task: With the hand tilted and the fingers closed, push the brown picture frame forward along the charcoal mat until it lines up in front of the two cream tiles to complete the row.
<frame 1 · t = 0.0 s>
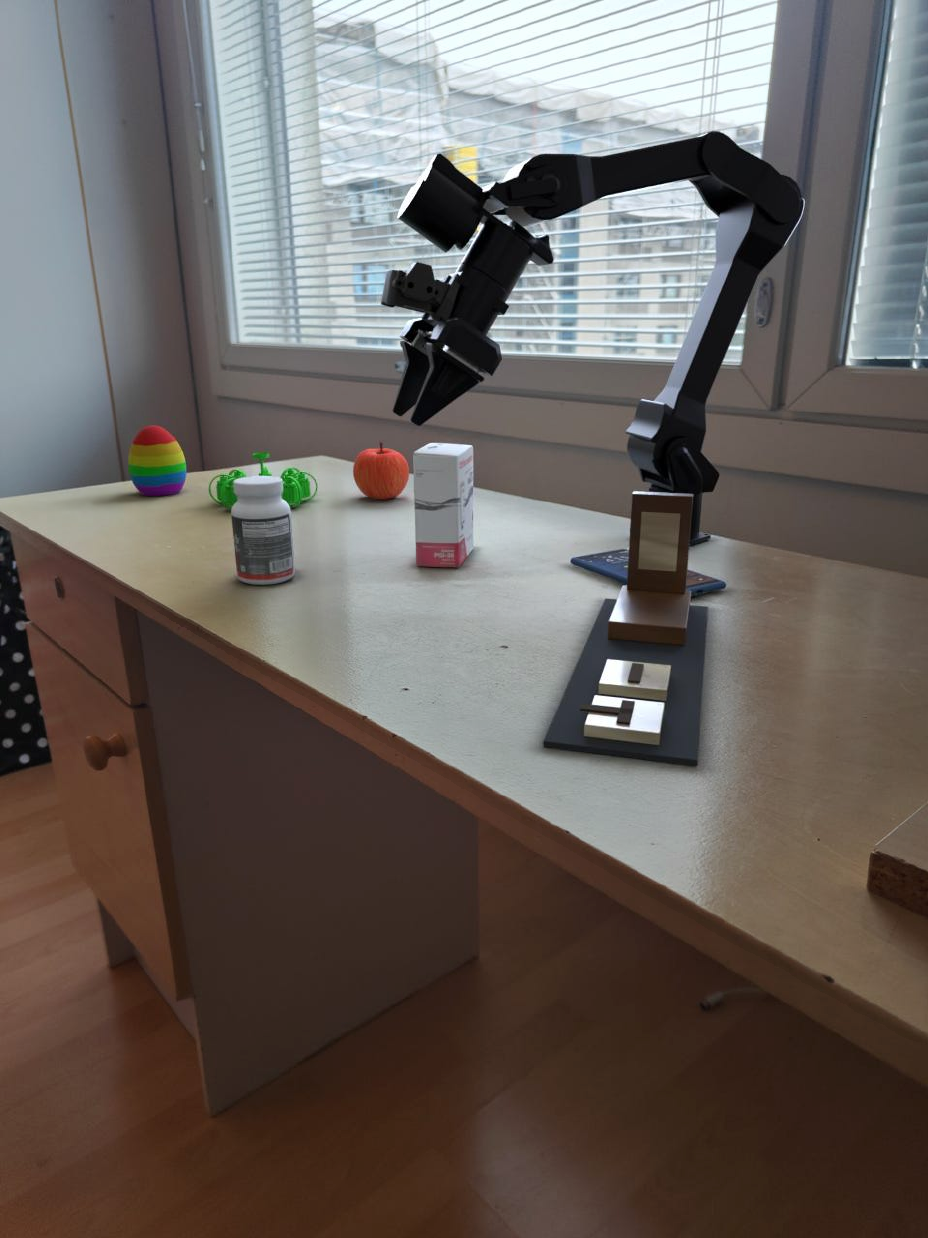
hand: (405, 418, 88), 15 cm above the table, tool tilted 35°, fingers open, 9 cm apart
decorative egg: (161, 494, 130), on the table
chandelier: (265, 504, 122), on the table
apple: (381, 498, 125), on the table
pill bottle: (266, 579, 86), on the table
brown picture frame: (650, 622, 72), resting on word mat
smartphone: (644, 578, 85), on the table
ink box: (445, 559, 93), on the table
word mat: (645, 647, 67), on the table
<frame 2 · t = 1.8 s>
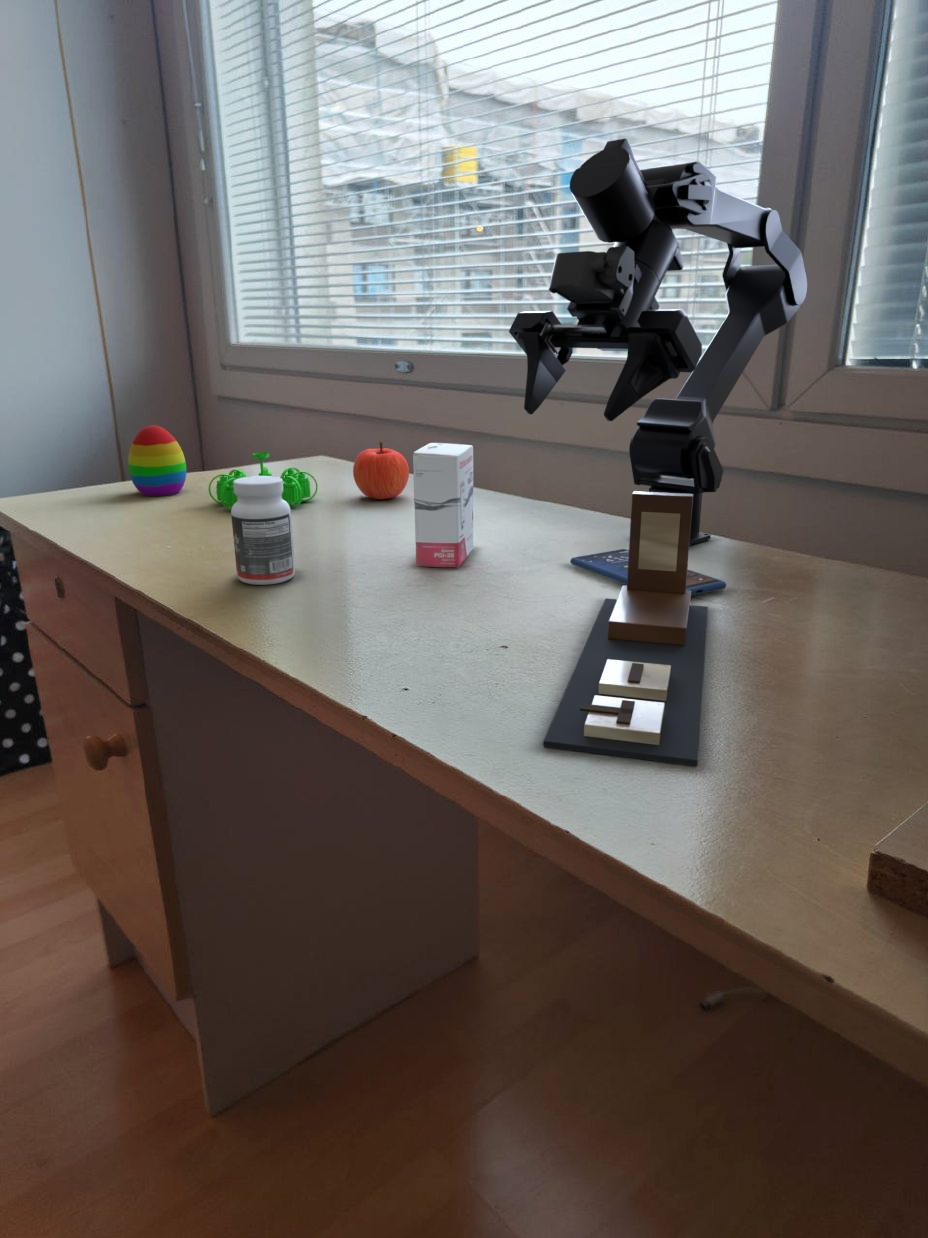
hand: (566, 414, 80), 16 cm above the table, tool tilted 40°, fingers open, 9 cm apart
nothing on the table moved.
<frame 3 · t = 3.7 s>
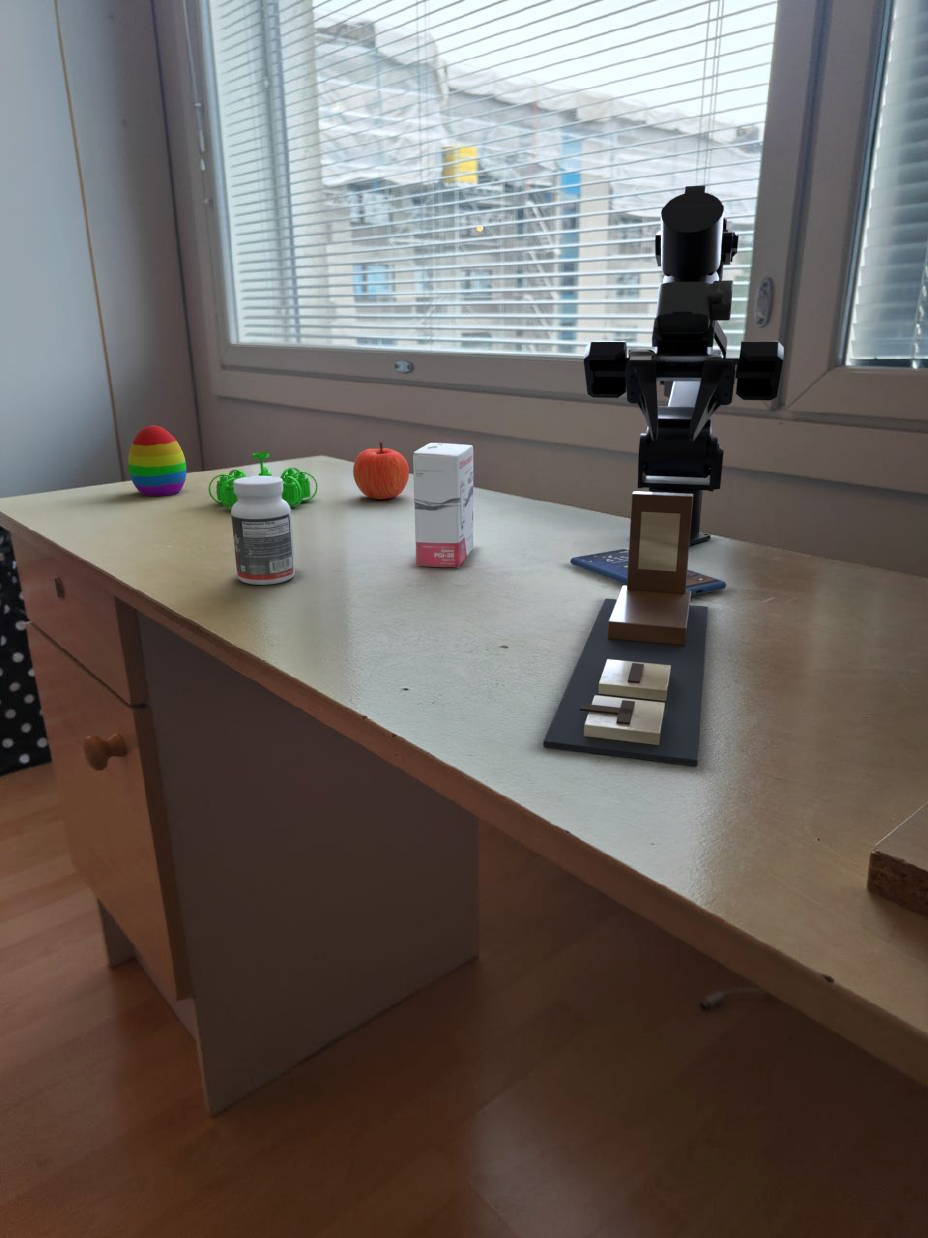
hand: (672, 438, 82), 14 cm above the table, tool tilted 45°, fingers open, 3 cm apart
nothing on the table moved.
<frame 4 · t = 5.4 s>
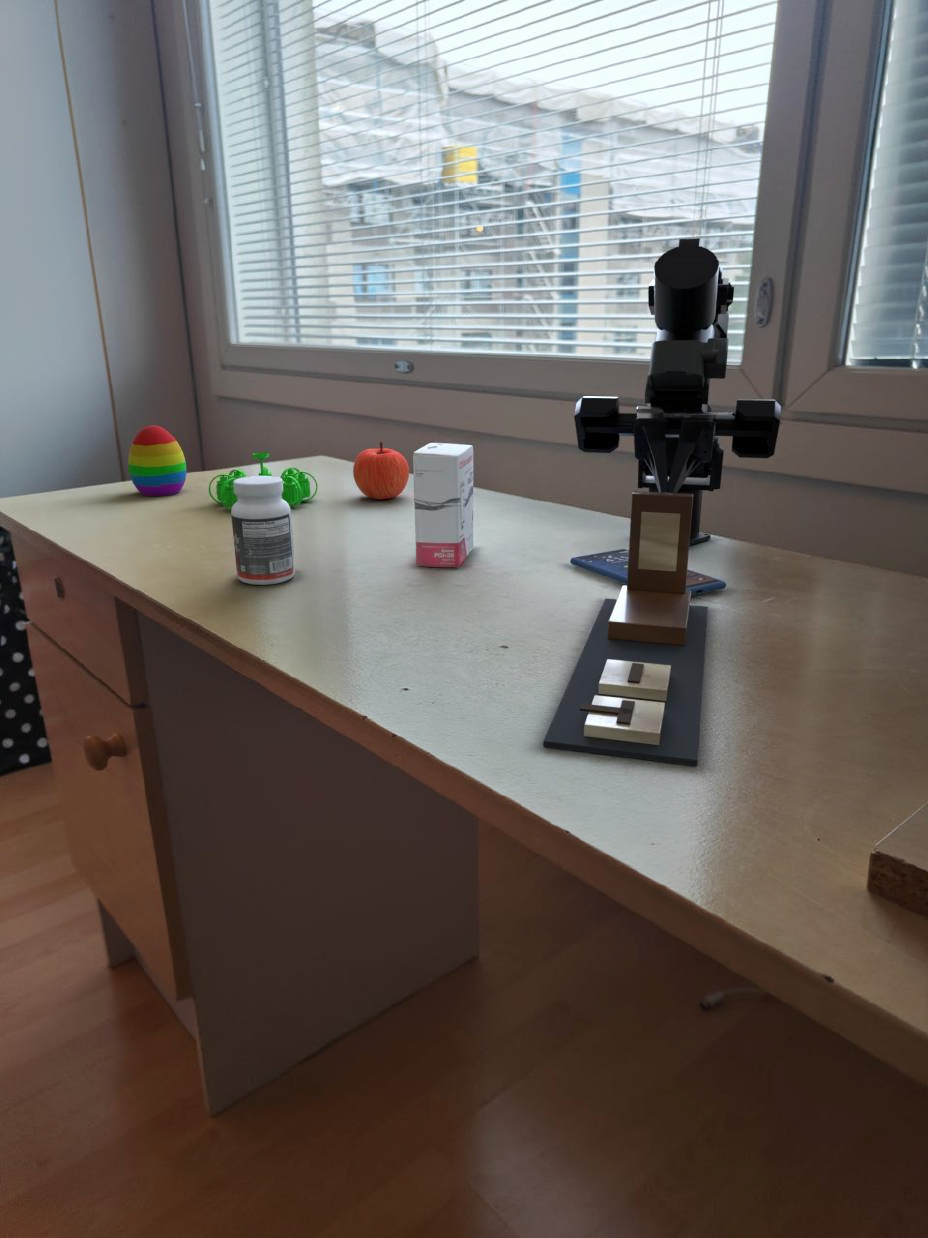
hand: (666, 499, 79), 9 cm above the table, tool tilted 45°, fingers closed
nothing on the table moved.
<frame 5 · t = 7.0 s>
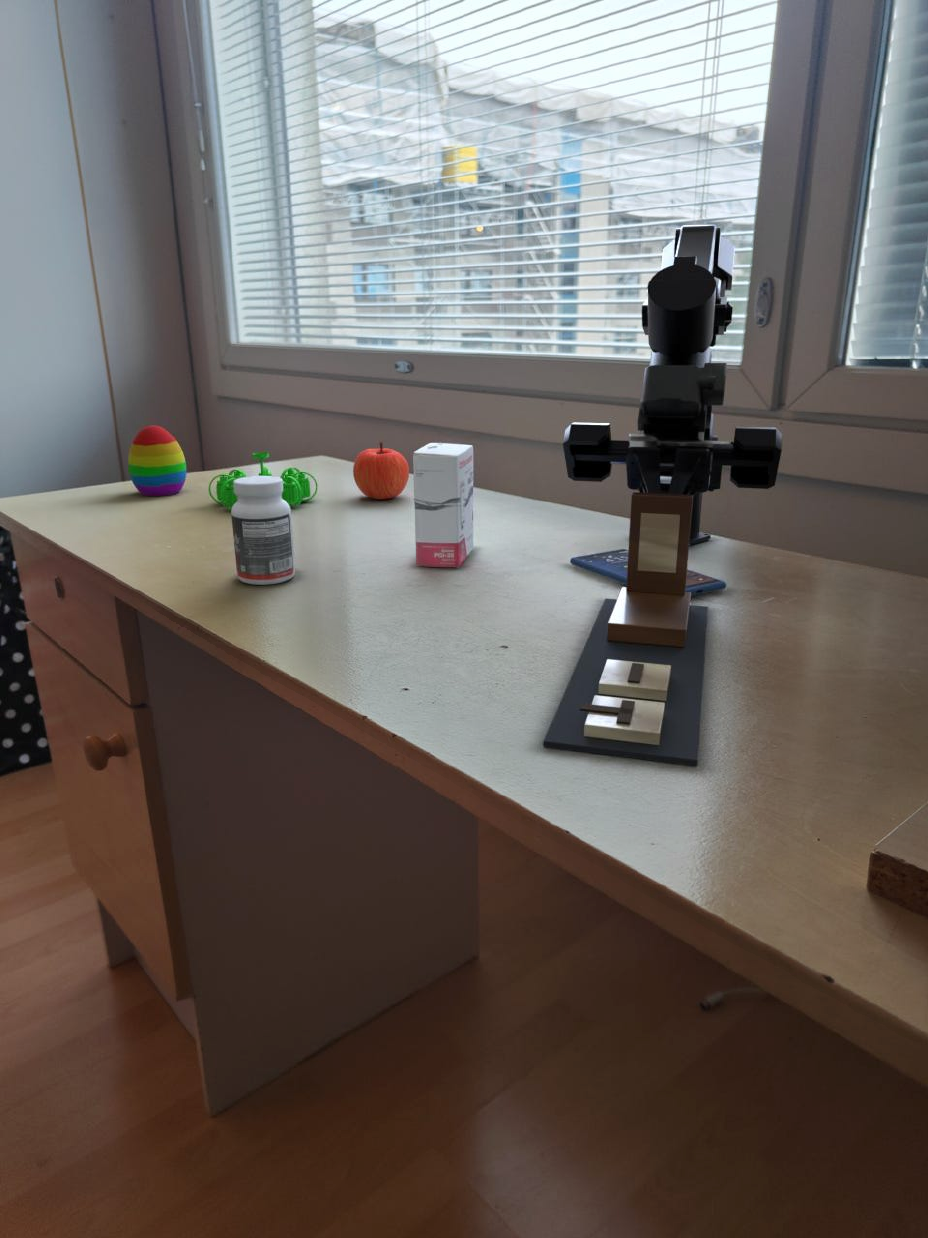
hand: (660, 534, 74), 7 cm above the table, tool tilted 45°, fingers closed
brown picture frame: (650, 623, 71), resting on word mat
everything else where it was.
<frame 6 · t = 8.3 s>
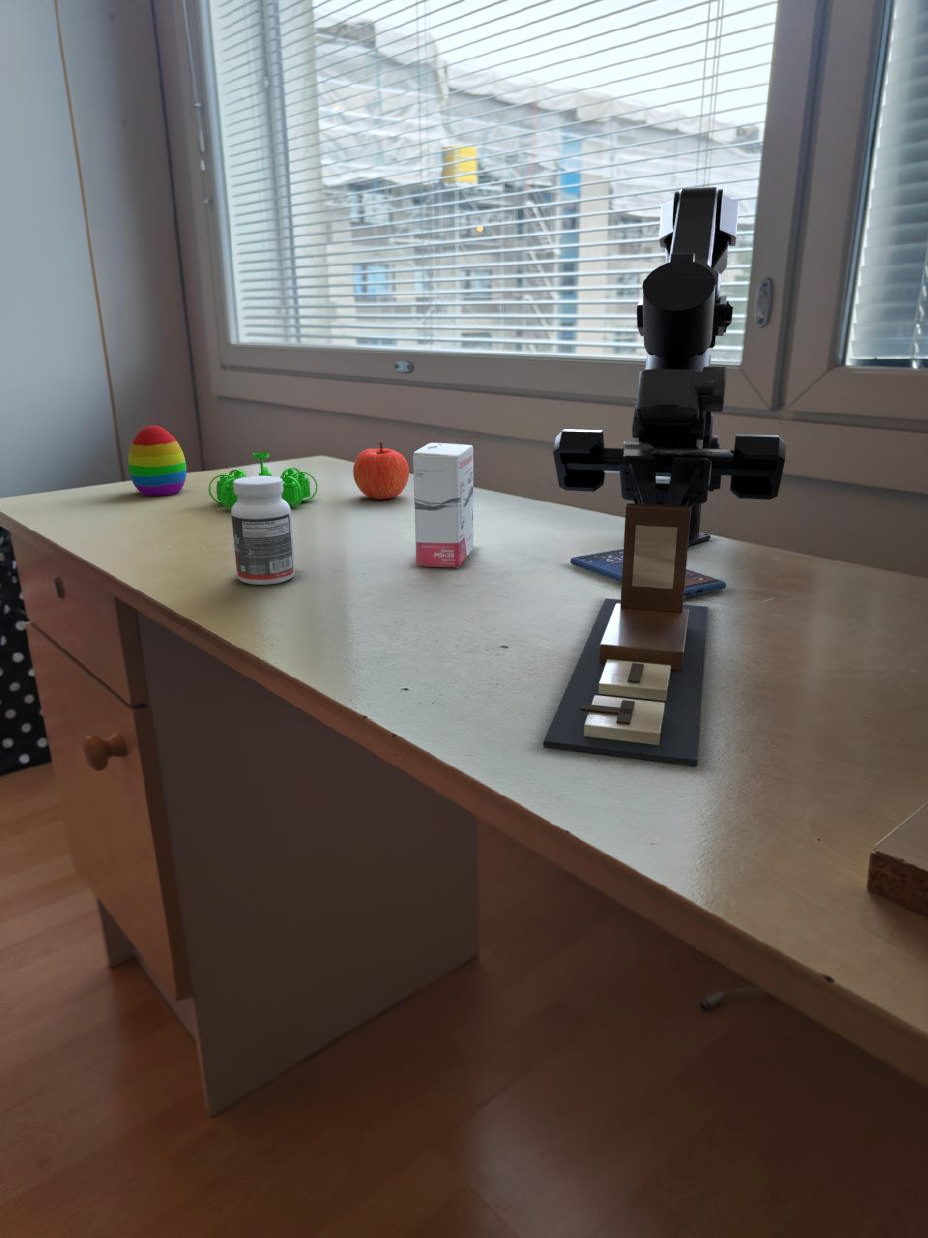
hand: (656, 548, 70), 7 cm above the table, tool tilted 45°, fingers closed
brown picture frame: (645, 643, 67), resting on word mat
everything else where it was.
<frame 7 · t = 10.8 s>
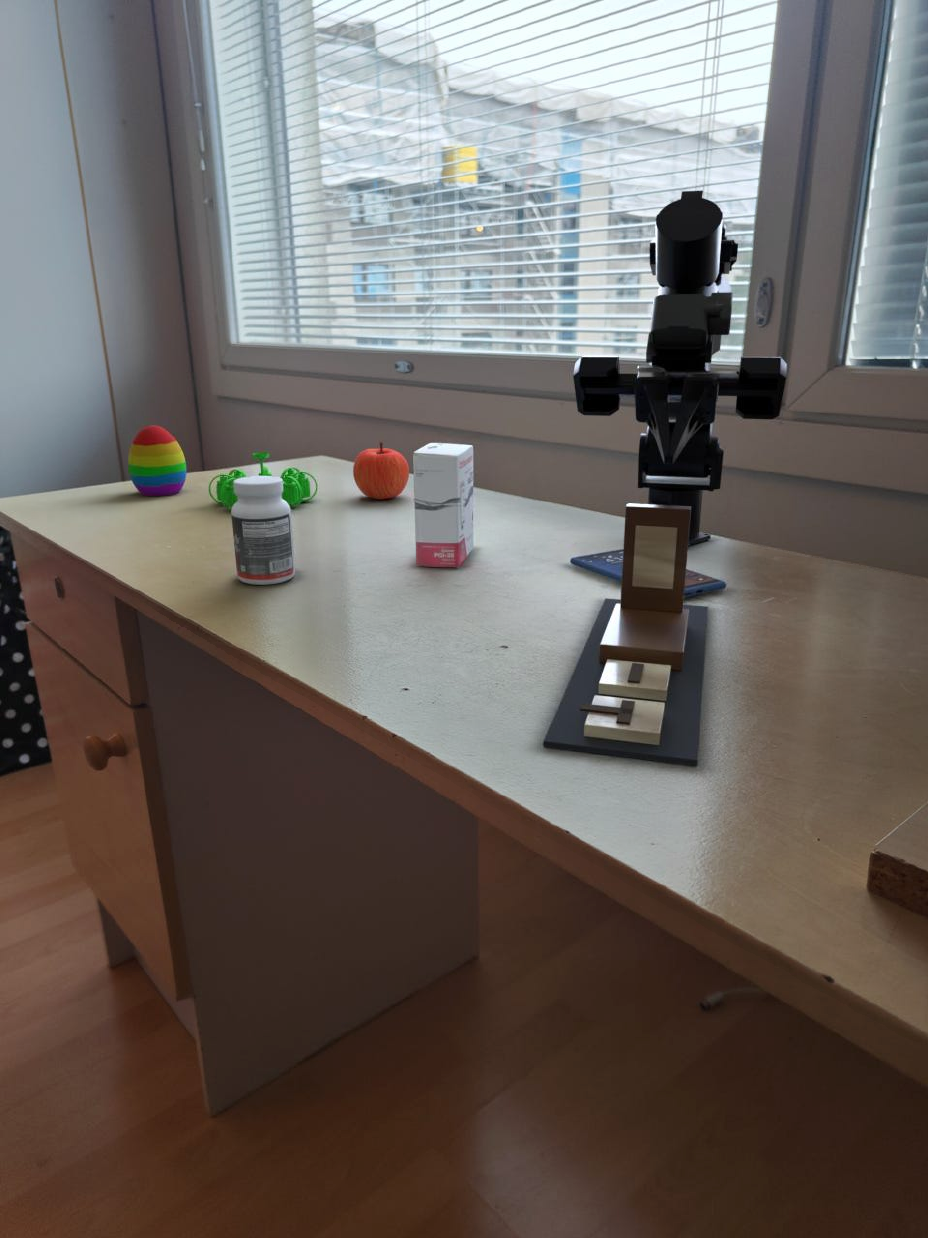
hand: (668, 460, 76), 12 cm above the table, tool tilted 45°, fingers closed
nothing on the table moved.
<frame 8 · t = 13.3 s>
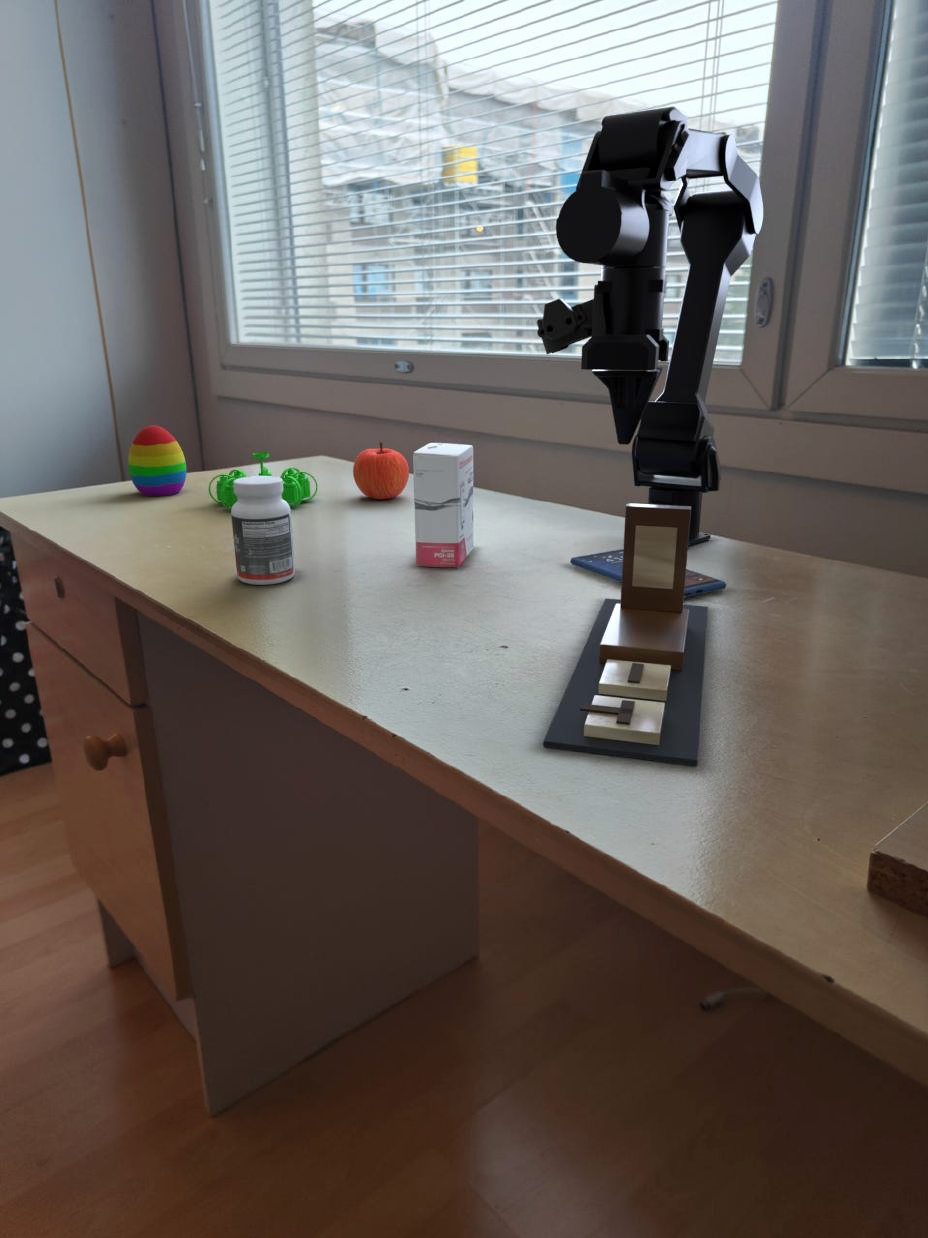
hand: (624, 443, 83), 13 cm above the table, tool pointing down, fingers closed
nothing on the table moved.
at the end: brown picture frame 0.3 cm from the target spot, resting on word mat; brown picture frame tilted 0°; brown picture frame moved 5.3 cm from its start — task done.
